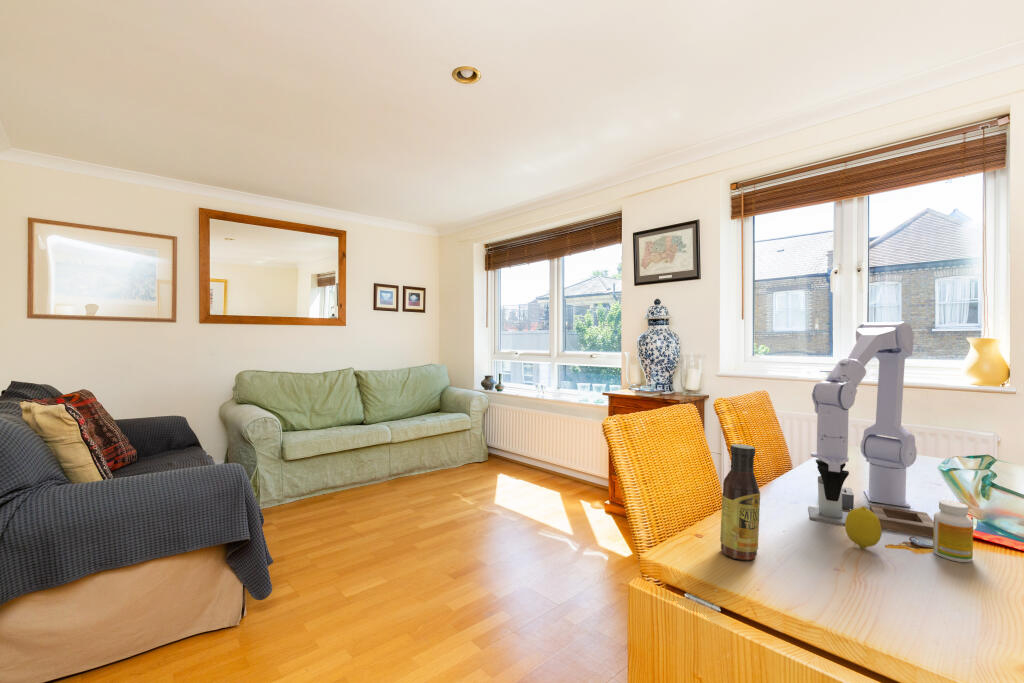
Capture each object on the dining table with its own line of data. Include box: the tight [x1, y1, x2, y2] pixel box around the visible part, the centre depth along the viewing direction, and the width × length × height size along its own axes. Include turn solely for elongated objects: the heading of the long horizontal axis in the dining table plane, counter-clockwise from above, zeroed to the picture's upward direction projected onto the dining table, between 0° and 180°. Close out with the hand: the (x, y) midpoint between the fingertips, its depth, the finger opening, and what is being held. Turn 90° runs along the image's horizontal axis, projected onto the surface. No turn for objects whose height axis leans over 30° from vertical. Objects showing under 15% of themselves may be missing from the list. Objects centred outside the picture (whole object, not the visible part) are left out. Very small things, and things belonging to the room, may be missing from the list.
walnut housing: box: [869, 503, 934, 538], centre depth 103 cm, size 10×10×2 cm
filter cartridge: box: [817, 475, 843, 518], centre depth 107 cm, size 4×4×8 cm
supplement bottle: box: [932, 499, 974, 563], centre depth 88 cm, size 5×5×10 cm
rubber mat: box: [808, 505, 849, 526], centre depth 107 cm, size 8×8×1 cm
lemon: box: [844, 505, 882, 550], centre depth 91 cm, size 6×6×8 cm
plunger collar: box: [842, 486, 855, 511], centre depth 115 cm, size 6×6×4 cm
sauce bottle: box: [719, 443, 761, 561], centre depth 88 cm, size 7×6×20 cm
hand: (830, 496), depth 107 cm, fingers open, 5 cm apart
